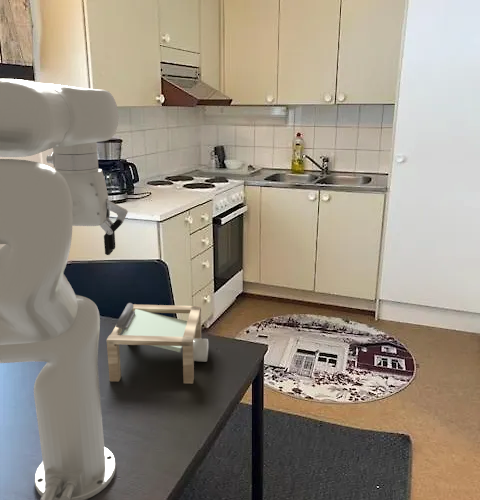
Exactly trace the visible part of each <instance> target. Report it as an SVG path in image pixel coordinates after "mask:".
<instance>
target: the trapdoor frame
mask: <svg viewBox="0 0 480 500" xmlns="http://www.w3.org/2000/svg"><path fill="white" fill-rule="evenodd" d="M132 304H133V303H132ZM133 306H134V307H133V309H132V311H135V309H138V310H142V311H147V312H151V313H155V314H160V313H161V314H188V319H187V320H186V321H187V325H186V328H185V332H184V335H183V337H172V336H134V335H122V333H123V331H124V329H122V328H118V327H116V325H115V327H114V328H113V330H112V332H111V333H110V334H109V335H108V336H107V338H106V352H107V361H108V362H107V364H108V366H107V367H108V375H109V376H108V377H109V382H120V380H121V378H122V368H121V352H120V345H127V346H151V345H161V346H182V367H183V368H182V375H183V377H182V379H183V384H190V385H191V384H194V379H195V369H194V368H195V366H194V365H195V361H194V355H193V341H194V338H197V339H202V306H201V305H172V304H171V305H170V304H169V305H166V304H165V305H164V304H159V305H158V304H136V303H134V304H133Z"/></svg>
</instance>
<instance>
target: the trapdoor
mask: <svg viewBox="0 0 480 500" xmlns="http://www.w3.org/2000/svg"><path fill="white" fill-rule="evenodd" d="M133 307H134V306H133V303H132V302H128V303H126V306H125V308H124V309H123V311H122V313H121V314H120V316H119V317H118V319H117V321H116V324H115V326H116V327H118V328H122V329H123V331H122V332H121V335H134V336H172V337H183V335H184V332H185V328H186V325H187V321H188V320H184V319H180V318H177V317H171V316H167V315H163V314H160V313H151V312H147V311H142V310H138V309H135V311H132V309H133ZM150 347H155V348H161V349H164V350H168V351H174V352H177V353H181V351H182V348H183V346H161V345H150Z"/></svg>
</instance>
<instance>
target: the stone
mask: <svg viewBox="0 0 480 500" xmlns="http://www.w3.org/2000/svg"><path fill="white" fill-rule="evenodd" d="M193 355H194V362H203V363H205V362H206V363H207V362H208V358H209V338H201V339H197V338H194V341H193Z"/></svg>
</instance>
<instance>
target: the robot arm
mask: <svg viewBox="0 0 480 500" xmlns="http://www.w3.org/2000/svg"><path fill="white" fill-rule="evenodd" d="M118 124H119V109H118V105H117V102H116V99H115V97H114V96H113V95H112V93H111V92H110V91H108V90H105V89H95V88H84V87H76V86H70V85H69V86H68V85H63V84H62V85H61V84H54V83H44V82H35V81H30V80H24V79H17V78H15V79H14V78H0V245H3V246H1V247H0V364H10V363H14V364H15V363H30V362H32V363H33V362H39V363H41V362H42V363H43V362H44V363H45V362H46V363H45V365H44V366H43V367H42V368H41V369H40V372H39V373H38V374H37V376H36V378H35V381H34V385H33V398H34V403H35V404H34V405H35V412H36V419H37V421H36V422H37V428H38V434H39V442H40V443H39V444H40V449H41V457H42V459H41V460H42V461H41V463H40V464H39V465H38V467H37V469H36V471H35V474H34V487H35V489H36V491H37V494H39V496H40V499H39V500H88V499H90V498H92V497H94V496H96V495H98V494H99V493H100V492H102V491H103V490H105V489H106V487H107V486H108V485H109V484H110V483H111V481H112V479H113V478H114V476H115V475H116V467H117V463H116V458H115V455H114V453H112V451H111V450H110V449H109V448H107V447H105V439H104V438H105V437H104V429H103V428H104V427H103V416H102V415H103V414H102V405H101V404H102V403H101V392H100V380H99V379H100V378H99V366H98V365H99V364H98V363H99V360H98V359H99V358H98V356H99V353H98V352H99V341H100V329H101V327H100V326H101V319H100V318H101V315H100V311H99V309H98V306H97V304H96V303H95V302H94V301H93V300H92V299H90V298H88V297H86V296H83V295H79V294H76V293H75V291H74V289H73V288H72V285H71V284H70V282H69V281H68V278H67V277H66V275H65V274H64V273H65V269H66V267H67V264H68V259H69V256H70V251H71V245H72V239H73V238H72V237H73V227H97V226H99V227H100V228H102V230H103V231H104V233H105V234H104V235H103V242H104V243H103V244H104V254H105V255H106V256H110V255H111V254H112V252H113V251H114V250H115V249H116V234H115V231H117V229H118V228H119V227H120V226H121V225H123V223H124V221H125V219H126V217H127V215H128V212H129V211H128V210H127V209H126V208H124V207H122V206H120V205H118V204H117V203H114V202H113V201H110V200H109V194H108V190H107V184H106V179H105V175H104V172H103V169H102V168H99V158H98V157H99V156H98V143H99V142H105V141H109V140H111V139H112V138H113V137H114V136H115V134H116V132H117V128H118ZM51 149H52V153H51V155H46V159H45V160H46V163H47V164H51V165H53V167H52V166H50V165H47V164H45V163H43V162H42V163H41V162H38V161H32V160H26V159H18V158H23V157H31V156H35V155H38V154H41V153H43V152H45V151H48V150H51ZM110 211H111V212H112V213H114V214H116V215H117V217H116V219H115V221H114V222H113V221H112V220H111V219H110V215H111V213H110Z"/></svg>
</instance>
